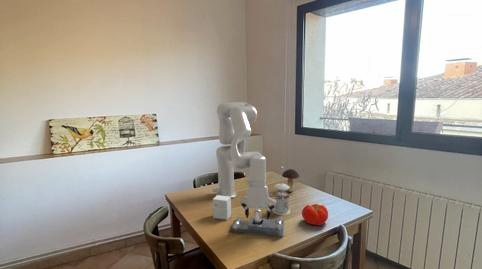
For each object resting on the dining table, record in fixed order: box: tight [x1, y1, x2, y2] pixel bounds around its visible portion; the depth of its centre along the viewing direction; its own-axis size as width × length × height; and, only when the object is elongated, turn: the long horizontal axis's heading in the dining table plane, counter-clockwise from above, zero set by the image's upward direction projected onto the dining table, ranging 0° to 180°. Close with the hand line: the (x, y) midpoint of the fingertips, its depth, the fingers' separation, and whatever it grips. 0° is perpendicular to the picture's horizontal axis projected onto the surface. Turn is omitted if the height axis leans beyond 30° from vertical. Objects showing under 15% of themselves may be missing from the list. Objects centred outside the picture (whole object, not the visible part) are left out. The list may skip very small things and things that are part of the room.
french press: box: [271, 166, 291, 216], centre depth 145 cm, size 10×12×25 cm
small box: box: [212, 195, 232, 221], centre depth 139 cm, size 8×6×10 cm
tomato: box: [301, 203, 329, 226], centre depth 132 cm, size 13×12×8 cm
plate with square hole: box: [230, 216, 285, 238], centre depth 126 cm, size 24×9×5 cm, turn 79°
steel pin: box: [253, 208, 262, 225], centre depth 126 cm, size 3×3×10 cm
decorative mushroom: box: [281, 168, 300, 193], centre depth 172 cm, size 11×11×15 cm
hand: (257, 217), depth 126 cm, fingers open, 9 cm apart
